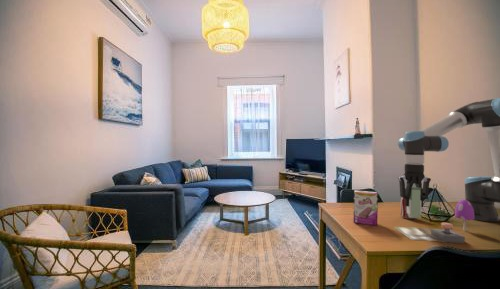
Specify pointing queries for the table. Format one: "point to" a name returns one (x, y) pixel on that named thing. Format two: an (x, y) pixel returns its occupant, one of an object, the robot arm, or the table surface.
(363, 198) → the candy bar box
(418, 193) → the pale green block
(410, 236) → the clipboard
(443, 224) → the button cap
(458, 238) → the button housing
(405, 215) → the soda can
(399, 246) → the table surface
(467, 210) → the toy
